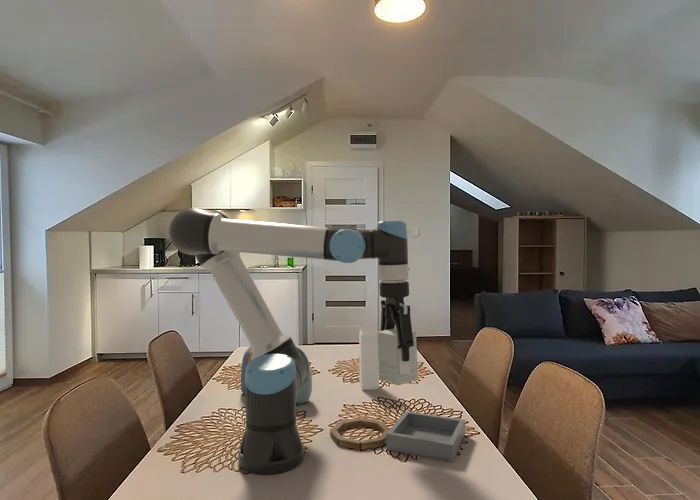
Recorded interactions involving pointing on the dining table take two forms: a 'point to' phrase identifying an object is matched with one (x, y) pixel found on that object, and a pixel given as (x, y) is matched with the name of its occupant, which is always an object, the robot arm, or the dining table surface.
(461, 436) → the bin
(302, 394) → the cup
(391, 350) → the supplement box
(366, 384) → the milk
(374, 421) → the ring
